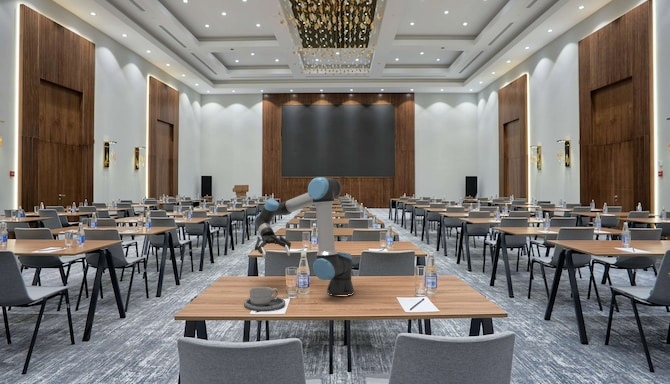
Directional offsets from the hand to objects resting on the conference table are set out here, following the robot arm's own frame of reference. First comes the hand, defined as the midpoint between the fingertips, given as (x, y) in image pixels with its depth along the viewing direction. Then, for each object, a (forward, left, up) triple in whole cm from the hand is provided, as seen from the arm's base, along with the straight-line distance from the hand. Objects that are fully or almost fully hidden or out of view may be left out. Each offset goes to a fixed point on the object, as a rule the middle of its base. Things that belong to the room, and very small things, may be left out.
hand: (277, 255), depth 221 cm
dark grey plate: (-1, +16, -22) cm, 28 cm away
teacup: (-2, +18, -22) cm, 28 cm away
